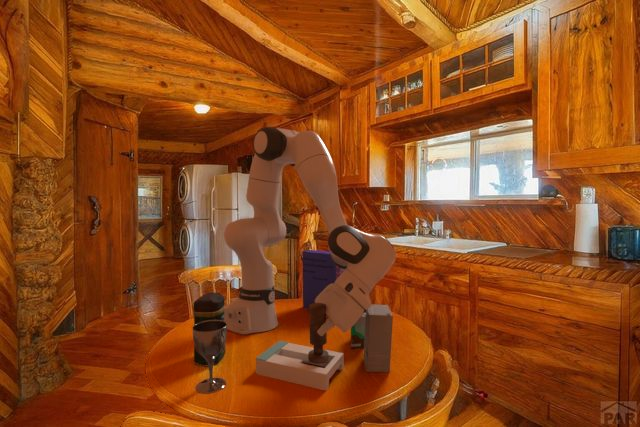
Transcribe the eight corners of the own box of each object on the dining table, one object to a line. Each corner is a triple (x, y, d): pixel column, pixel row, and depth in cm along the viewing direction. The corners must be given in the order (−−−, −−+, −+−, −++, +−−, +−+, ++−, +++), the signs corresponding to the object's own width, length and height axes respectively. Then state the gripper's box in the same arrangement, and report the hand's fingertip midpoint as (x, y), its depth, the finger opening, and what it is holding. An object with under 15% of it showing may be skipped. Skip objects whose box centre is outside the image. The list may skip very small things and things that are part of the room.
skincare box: (363, 358, 98) (362, 303, 98) (388, 358, 98) (388, 303, 97) (366, 373, 90) (366, 313, 89) (393, 373, 90) (393, 313, 89)
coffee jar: (219, 366, 94) (217, 299, 93) (190, 367, 94) (188, 300, 93) (229, 351, 104) (227, 290, 103) (202, 351, 104) (201, 290, 103)
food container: (371, 352, 102) (371, 319, 101) (350, 351, 103) (350, 318, 102) (373, 336, 114) (373, 306, 113) (354, 334, 115) (354, 305, 114)
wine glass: (198, 377, 88) (197, 320, 88) (230, 376, 89) (229, 319, 88) (189, 395, 80) (188, 332, 80) (224, 393, 81) (223, 331, 80)
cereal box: (345, 311, 139) (345, 252, 137) (340, 315, 134) (340, 254, 133) (309, 305, 147) (308, 249, 146) (303, 308, 143) (302, 250, 142)
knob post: (305, 361, 88) (304, 307, 87) (313, 352, 93) (312, 301, 92) (323, 365, 86) (322, 309, 85) (331, 356, 90) (330, 303, 90)
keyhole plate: (256, 373, 90) (255, 358, 90) (279, 354, 101) (279, 340, 101) (326, 390, 82) (326, 373, 82) (343, 367, 93) (343, 352, 93)
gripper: (330, 272, 100) (298, 309, 98) (357, 290, 80) (317, 337, 78) (345, 286, 101) (313, 323, 99) (374, 307, 82) (336, 353, 80)
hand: (315, 329), depth 89 cm, fingers closed on knob post, 4 cm apart
